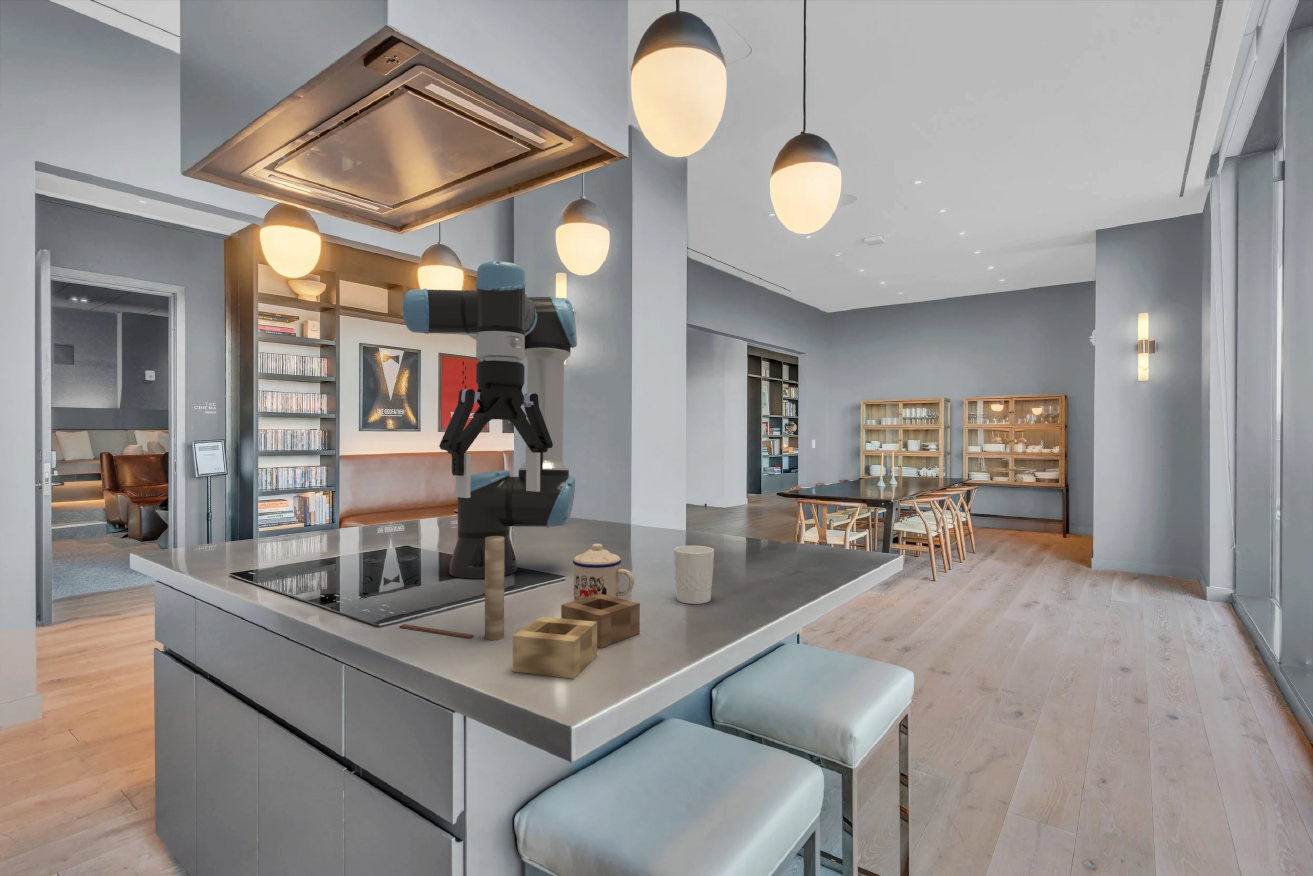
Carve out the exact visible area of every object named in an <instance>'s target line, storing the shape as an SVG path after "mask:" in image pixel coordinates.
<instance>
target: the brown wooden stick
mask: <svg viewBox="0 0 1313 876" xmlns="http://www.w3.org/2000/svg"><path fill="white" fill-rule="evenodd" d="M399 628H400V629H405V630H406V629H407V630H413V631H419V632H426V633H432V634H439V635H445V636H453V637H458V638H463V639H465V638H466V639H472V638H474V636H475V635H474V634H472V633H464V632H459V631H451V630H445V629H440V628H439V629H437V628H434V627H433V628H432V627H426V626H425V627H424V626H419V625H418V626H417V625H412V624H407V623H406V624H405V623H404V624H401V625H399Z"/></svg>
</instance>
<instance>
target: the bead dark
mask: <svg viewBox="0 0 1313 876" xmlns="http://www.w3.org/2000/svg"><path fill="white" fill-rule="evenodd" d="M640 604H641V603H640V602H636V601H632V600H628V599H624V598H616V597H612V596H608V595H604V594H598V595H594V596H591V597H587V598H584V599H580V600H577V601H574V600H573V601H570V602H566V603H562V604H561V609H560V610H561V611H560V613H561V614H560V615H561V618H562V619H573V620H584V621H595V622H597V648H599V649H603V648H605V647H608V646H611V645H613V644H615V643H619V642H621V641H624V640H627V639H629V638H631V637H634V636H636V635H639V634H640V627H641V626H640V625H641V624H640V623H641V621H640V620H641V618H640V615H641V613H640V612H641V611H640V610H641V605H640Z"/></svg>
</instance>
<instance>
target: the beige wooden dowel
mask: <svg viewBox="0 0 1313 876" xmlns="http://www.w3.org/2000/svg"><path fill="white" fill-rule="evenodd" d="M504 637H505V576H504V537H503V536H489V537H486V538H485V578H484V639H485V640H487V641H499V640H501V639H504Z"/></svg>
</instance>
